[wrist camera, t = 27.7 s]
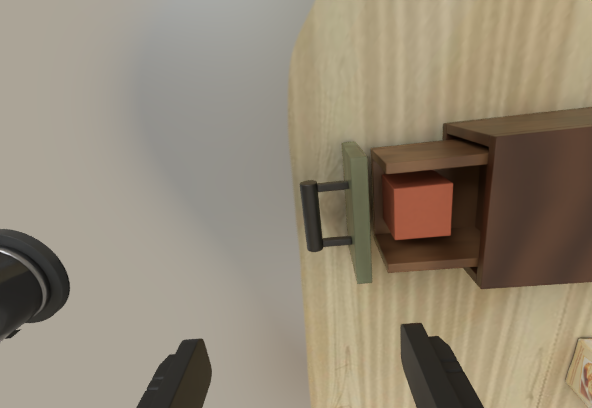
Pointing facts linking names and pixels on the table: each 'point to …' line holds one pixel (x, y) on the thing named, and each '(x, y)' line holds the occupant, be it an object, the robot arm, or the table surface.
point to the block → (417, 204)
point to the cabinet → (534, 198)
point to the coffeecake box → (582, 371)
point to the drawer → (384, 160)
